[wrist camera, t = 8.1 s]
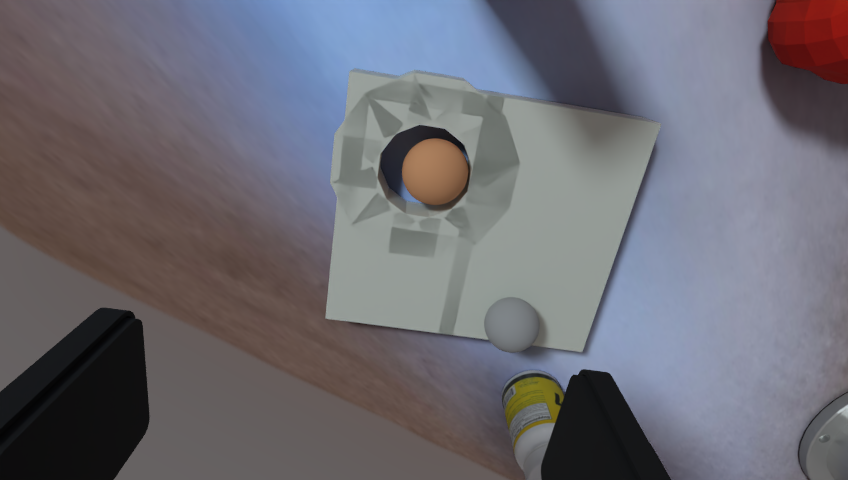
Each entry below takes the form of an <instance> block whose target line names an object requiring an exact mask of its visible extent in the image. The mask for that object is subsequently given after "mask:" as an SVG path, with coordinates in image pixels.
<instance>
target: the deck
mask: <svg viewBox="0 0 848 480" xmlns="http://www.w3.org/2000/svg"><path fill="white" fill-rule="evenodd" d="M418 125H424V126H431V127H437V128H443V129H446V130H447V131H448V132H449V133H451V134H452V135H453V136H454V137H455V138H457V139H458V140H459V141H460V142H461V143H463V144H464V147H465V150H466V153H467V156H468V163H467V165H468V178H467V182H466V185H465V187H464V189H463V190H462V192H461V193H460V194H459V195H458V196H457V197H456V198H455V199H453V200H452V201H450V202H448V203H445V204H441V205H429V204H422V203H415V202H409V201H406V200H404V199H403V198H402V197H401V196H399V195H398V194H397V193H395V192H394V191H393V190H391V189H390V188H389V186H388V184H387V182H386V179H385V177H384V175H383V172H382V170H381V168H380V166H381V158H382V151H383V150H384V148H385V147H386V146H387V145H388V143H389V142H390V141H391V140H392V138H393V137H394V136H395V135H396V134H397V133H400V132H402V131H405V130H407V129H410V128H413V127H415V126H418ZM660 127H661V124H660V123H658V122H655V121H652V120H649V119H647V118H644V117H639V116H633V115H627V114H621V113H616V112H610V111H604V110H598V109H592V108H586V107H580V106H574V105H568V104H562V103H557V102H551V101H545V100H539V99H533V98H527V97H521V96H515V95H509V94H503V93H497V92H492V91H486V90H480V89H475V88H474V87H473V86H472V85H471V84H469V83H468V82H467V81H466V80H465V79H464V78H461V77H455V76H449V75H443V74H438V73H432V72H426V71H420V70H412V71H410V72H407V73H405V74H403V75H400V76H397V75H391V74H385V73H379V72H373V71H368V70H362V69H356V68H355V69H353V70H351V71H350V72H349V82H348V92H347V103H346V113H345V120H344V122H343V123H342V124H341V126H340V127H339V128H338V130H337V131H336V133H335V136H334V147H333V158H332V169H331V180H330V183H331V185H332V187H333V189H334V191H335V194H336V196H337V205H336V215H335V226H334V236H333V246H332V256H331V267H330V277H329V287H328V298H327V308H326V319H334V320H342V321H349V322H357V323H364V324H372V325H380V326H387V327H395V328H403V329H410V330H418V331H425V332H433V333H441V334H448V335H456V336H463V337H471V338H479V339H486V340H489V339H488V337H487V335H486V332H485V328H484V320H485V316H486V313H487V311H488V309H489V308H490V307H491V306H492V304H494V303H495V302H496V301H498V300H500V299H502V298H507V297H515V298H520V299H522V300H524V301H526V302H528V303H529V304H530V305H531V306H532V307H533V308H534V309H535V311H536V313H537V315H538V318H539V323H540V329H539V334H538V337H537V338H536V340H535V342H534V343H533V344H532V346H540V347H547V348H555V349H562V350H570V351H578V352H583V349H584V346H585V343H586V340H587V337H588V334H589V331H590V328H591V326H592V323H593V320H594V317H595V314H596V311H597V308H598V305H599V303H600V300H601V297H602V294H603V291H604V288H605V285H606V282H607V279H608V277H609V274H610V271H611V268H612V265H613V262H614V259H615V256H616V253H617V251H618V248H619V245H620V242H621V239H622V236H623V233H624V230H625V227H626V225H627V222H628V219H629V216H630V213H631V210H632V207H633V204H634V202H635V199H636V196H637V193H638V190H639V187H640V184H641V181H642V178H643V176H644V173H645V170H646V167H647V164H648V161H649V158H650V155H651V152H652V150H653V147H654V144H655V141H656V138H657V135H658V132H659V129H660Z"/></svg>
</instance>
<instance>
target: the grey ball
mask: <svg viewBox="0 0 848 480" xmlns="http://www.w3.org/2000/svg"><path fill="white" fill-rule="evenodd" d="M484 328H485V332H486V335H487V337H488V339H489V341H490V342H491V343H492V344H493V345H494V346H495V347H497V348H498V349H500V350H502V351H505V352H510V353H516V352H521V351H523V350H525V349H527V348H529V347H530V346H531V345H532V344H533V343H534V342H535V340H536V338H537V337H538V334H539V329H540V323H539V318H538V315H537V313H536V311H535V309H534V308H533V307H532V306H531V305H530V304H529V303H528V302H526V301H524V300H522V299H520V298H515V297H507V298H502V299H500V300H498V301H496V302H495V303H494V304H492V306H491V307H490V308H489V309H488V311H487V313H486V316H485V320H484Z"/></svg>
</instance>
